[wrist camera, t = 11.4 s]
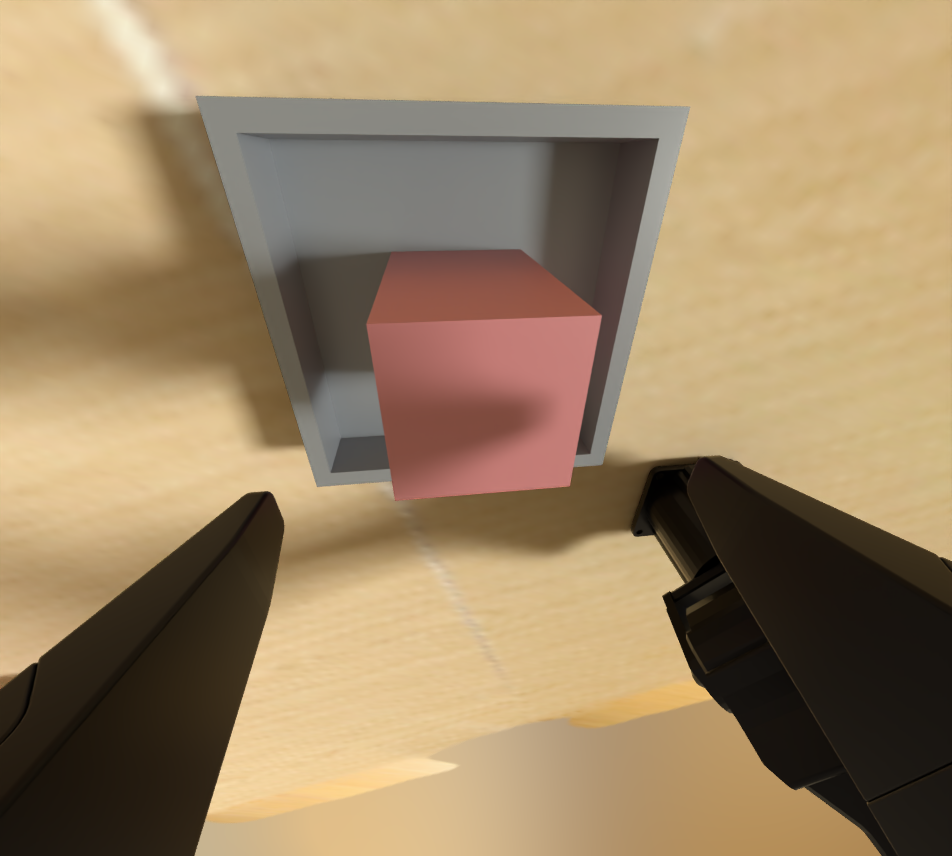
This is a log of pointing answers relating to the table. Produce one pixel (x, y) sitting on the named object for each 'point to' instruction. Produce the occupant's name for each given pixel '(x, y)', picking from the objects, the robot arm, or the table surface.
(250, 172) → the bin
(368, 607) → the table surface
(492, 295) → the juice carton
